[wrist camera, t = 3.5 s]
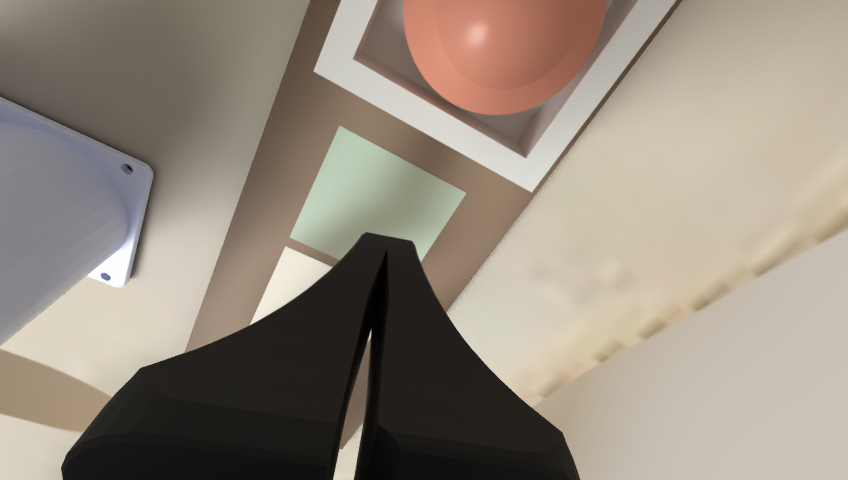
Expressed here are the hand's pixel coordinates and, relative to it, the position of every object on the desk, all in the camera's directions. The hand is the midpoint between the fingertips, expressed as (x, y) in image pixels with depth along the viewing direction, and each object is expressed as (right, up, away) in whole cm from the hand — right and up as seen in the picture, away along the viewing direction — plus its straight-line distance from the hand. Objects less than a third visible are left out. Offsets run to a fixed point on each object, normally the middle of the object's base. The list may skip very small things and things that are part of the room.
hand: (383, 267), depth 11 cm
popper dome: (+4, +9, +3) cm, 10 cm away
